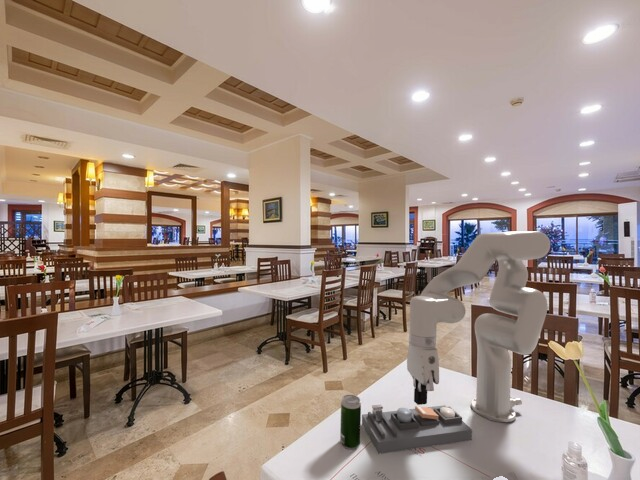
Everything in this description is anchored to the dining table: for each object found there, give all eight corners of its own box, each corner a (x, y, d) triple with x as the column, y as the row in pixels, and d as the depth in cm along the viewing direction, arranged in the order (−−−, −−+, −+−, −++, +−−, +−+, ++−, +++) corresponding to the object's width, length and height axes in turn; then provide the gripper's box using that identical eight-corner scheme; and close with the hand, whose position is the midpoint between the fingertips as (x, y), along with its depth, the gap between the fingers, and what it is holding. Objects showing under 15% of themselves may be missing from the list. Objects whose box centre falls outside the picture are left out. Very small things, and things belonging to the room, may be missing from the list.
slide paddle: (379, 415, 86) (380, 403, 86) (383, 420, 84) (383, 408, 84) (371, 416, 86) (371, 404, 86) (374, 421, 83) (374, 409, 83)
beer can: (348, 453, 75) (349, 407, 75) (336, 441, 79) (337, 397, 79) (364, 445, 78) (365, 401, 78) (351, 434, 82) (352, 392, 82)
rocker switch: (429, 411, 87) (430, 407, 87) (438, 419, 83) (438, 415, 83) (414, 409, 86) (415, 405, 86) (422, 417, 82) (422, 413, 82)
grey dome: (407, 413, 86) (407, 407, 86) (414, 422, 82) (414, 415, 82) (394, 415, 85) (394, 408, 85) (401, 423, 81) (401, 416, 81)
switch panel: (444, 414, 93) (445, 400, 93) (471, 440, 81) (472, 424, 81) (361, 424, 87) (362, 409, 87) (378, 453, 75) (378, 436, 75)
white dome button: (448, 412, 89) (449, 406, 89) (457, 421, 85) (457, 414, 85) (437, 414, 88) (437, 407, 88) (445, 422, 84) (445, 415, 84)
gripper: (450, 348, 78) (448, 417, 78) (419, 331, 92) (418, 388, 92) (425, 350, 76) (423, 420, 76) (398, 332, 91) (396, 390, 91)
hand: (420, 402), depth 84 cm, fingers closed
